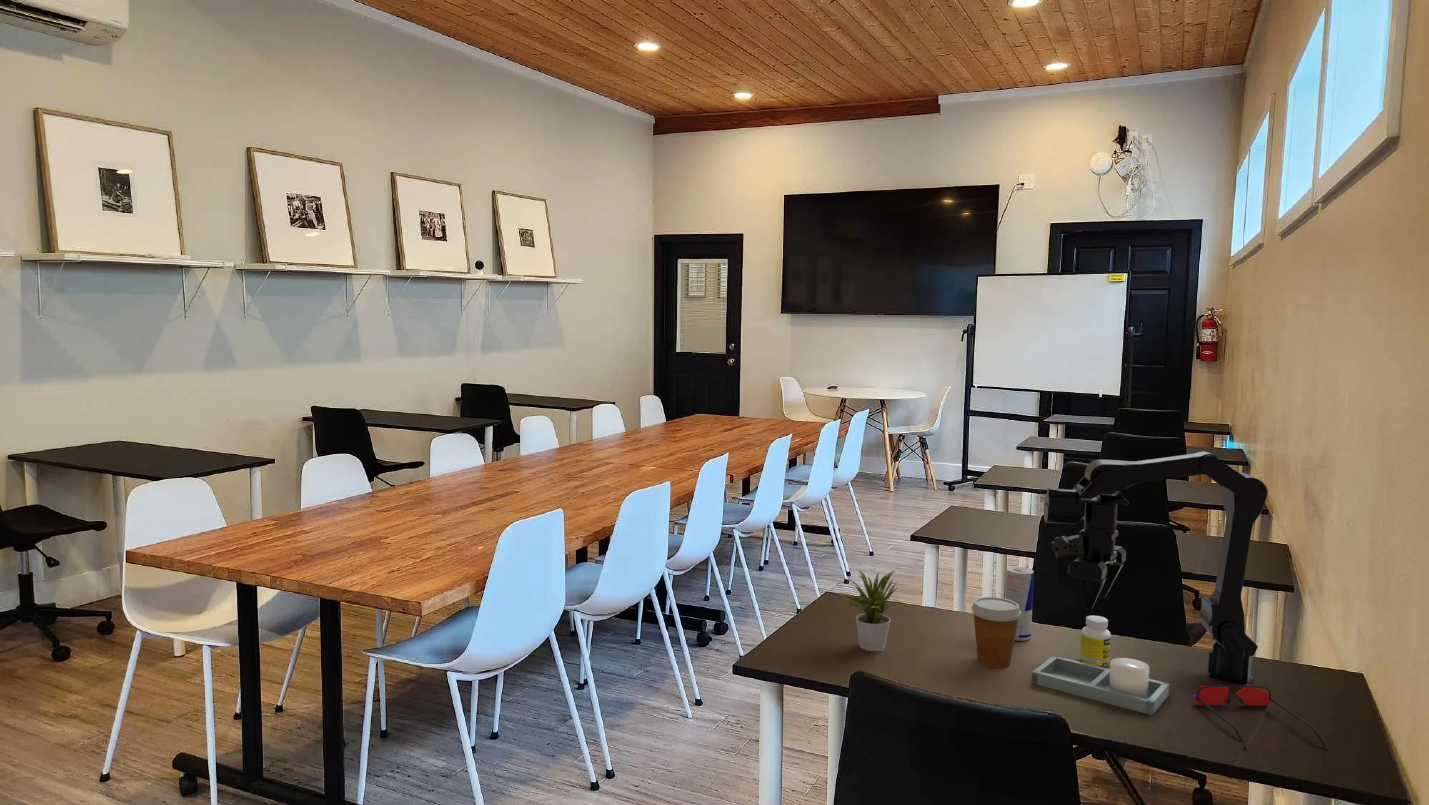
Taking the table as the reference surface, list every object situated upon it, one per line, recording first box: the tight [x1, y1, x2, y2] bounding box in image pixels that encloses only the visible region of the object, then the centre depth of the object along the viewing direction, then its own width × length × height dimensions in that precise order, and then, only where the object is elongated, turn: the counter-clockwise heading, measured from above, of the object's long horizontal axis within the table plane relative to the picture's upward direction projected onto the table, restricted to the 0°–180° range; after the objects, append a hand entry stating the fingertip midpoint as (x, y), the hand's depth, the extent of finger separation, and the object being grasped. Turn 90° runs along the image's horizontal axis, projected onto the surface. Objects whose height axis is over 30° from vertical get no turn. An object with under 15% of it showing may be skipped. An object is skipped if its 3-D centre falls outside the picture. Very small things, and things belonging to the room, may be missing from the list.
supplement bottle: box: [1079, 615, 1112, 668], centre depth 185 cm, size 5×5×10 cm
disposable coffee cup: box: [971, 596, 1021, 669], centre depth 186 cm, size 10×10×12 cm
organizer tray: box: [1031, 655, 1170, 716], centre depth 172 cm, size 21×11×3 cm, turn 50°
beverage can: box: [1004, 566, 1035, 642], centre depth 200 cm, size 6×6×15 cm
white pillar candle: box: [1109, 657, 1150, 699], centre depth 168 cm, size 6×6×6 cm
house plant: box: [837, 568, 903, 652], centre depth 194 cm, size 14×14×16 cm
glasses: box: [1192, 684, 1330, 752], centre depth 158 cm, size 14×16×5 cm
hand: (1095, 603), depth 183 cm, fingers open, 9 cm apart
